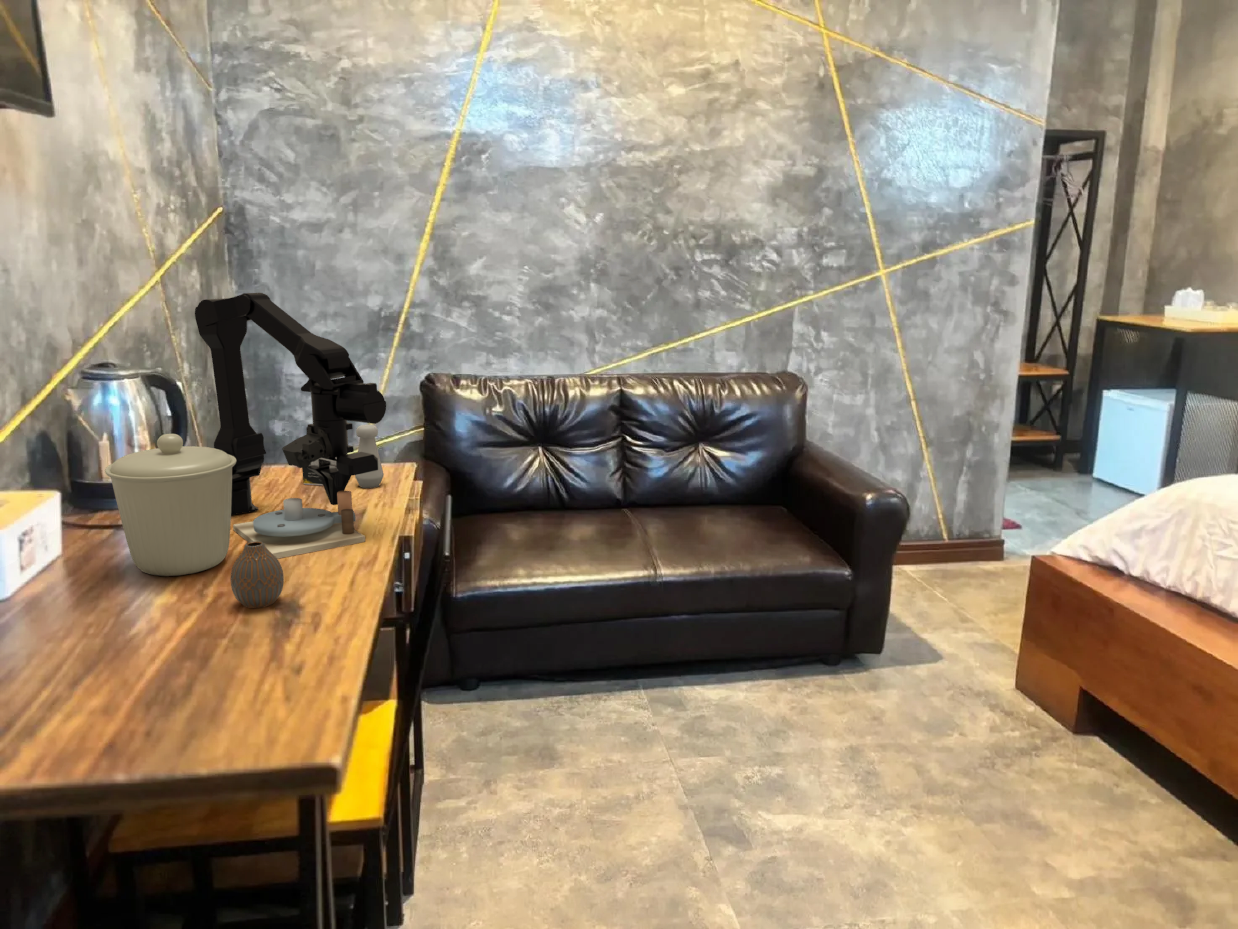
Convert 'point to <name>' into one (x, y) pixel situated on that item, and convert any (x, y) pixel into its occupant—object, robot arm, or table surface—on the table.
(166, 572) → the canister
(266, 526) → the flange plate
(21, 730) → the table surface
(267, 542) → the board
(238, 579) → the vase
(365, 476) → the salt shaker
